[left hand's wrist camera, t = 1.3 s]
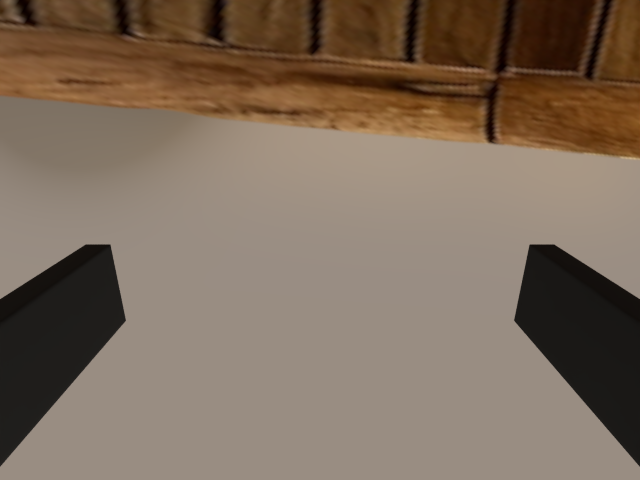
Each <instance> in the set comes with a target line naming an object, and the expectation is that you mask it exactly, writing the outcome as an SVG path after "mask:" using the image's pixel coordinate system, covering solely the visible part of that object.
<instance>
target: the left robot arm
mask: <svg viewBox="0 0 640 480" xmlns="http://www.w3.org/2000/svg"><path fill="white" fill-rule="evenodd" d="M125 321H126V319H125V314H124V309H123V304H122V299H121V294H120V290H119V285H118V280H117V275H116V270H115V265H114V260H113V255H112V250H111V245H84V246H83V247H81V248H80V249H78V250H77V251H75V252H73V253H72V254H70V255H69V256H67V257H66V258H64V259H62V260H61V261H59V262H58V263H56V264H55V265H53V266H51V267H50V268H48V269H47V270H45V271H44V272H42V273H41V274H39V275H37V276H36V277H34V278H33V279H31V280H30V281H28V282H26V283H25V284H23V285H22V286H20V287H19V288H17V289H16V290H14V291H12V292H11V293H9V294H8V295H6V296H4V297H3V298H1V299H0V466H1V465H2V464H3V463H4V462H5V460H6V459H7V458H8V457H9V456H10V455H11V453H12V452H13V451H14V450H15V449H16V448H17V446H18V445H19V444H20V443H21V442H22V441H23V439H24V438H25V437H26V436H27V435H28V434H29V433H30V431H31V430H32V429H33V428H34V427H35V426H36V424H37V423H38V422H39V421H40V420H41V418H42V417H43V416H44V415H45V414H46V413H47V412H48V410H49V409H50V408H51V407H52V406H53V405H54V403H55V402H56V401H57V400H58V399H59V398H60V396H61V395H62V394H63V393H64V392H65V391H66V390H67V388H68V387H69V386H70V385H71V384H72V383H73V381H74V380H75V379H76V378H77V377H78V376H79V374H80V373H81V372H82V371H83V370H84V369H85V367H86V366H87V365H88V364H89V363H90V362H91V360H92V359H93V358H94V357H95V356H96V355H97V353H98V352H99V351H100V350H101V349H102V348H103V347H104V345H105V344H106V343H107V342H108V341H109V340H110V338H111V337H112V336H113V335H114V334H115V333H116V331H117V330H118V329H119V328H120V327H121V326H122V324H123V323H124V322H125ZM514 321H515V322H516V323H517V324H518V326H519V327H520V328H521V329H522V330H523V331H524V333H525V334H526V335H527V336H528V337H529V338H530V340H531V341H532V342H533V343H534V344H535V345H536V347H537V348H538V349H539V350H540V351H541V352H542V353H543V355H544V356H545V357H546V358H547V359H548V360H549V362H550V363H551V364H552V365H553V366H554V367H555V369H556V370H557V371H558V372H559V373H560V374H561V376H562V377H563V378H564V379H565V380H566V381H567V383H568V384H569V385H570V386H571V387H572V388H573V390H574V391H575V392H576V393H577V394H578V395H579V396H580V398H581V399H582V400H583V401H584V402H585V403H586V405H587V406H588V407H589V408H590V409H591V410H592V412H593V413H594V414H595V415H596V416H597V417H598V419H599V420H600V421H601V422H602V423H603V424H604V426H605V427H606V428H607V429H608V430H609V431H610V433H611V434H612V435H613V436H614V437H615V438H616V439H617V441H618V442H619V443H620V444H621V445H622V446H623V448H624V449H625V450H626V451H627V452H628V453H629V455H630V456H631V457H632V458H633V459H634V460H635V462H636V463H637V464H638V465H639V466H640V299H639V298H637V297H635V296H634V295H632V294H631V293H629V292H628V291H626V290H625V289H623V288H621V287H620V286H618V285H617V284H615V283H614V282H612V281H610V280H609V279H607V278H606V277H604V276H603V275H601V274H599V273H598V272H596V271H595V270H593V269H592V268H590V267H589V266H587V265H585V264H584V263H582V262H581V261H579V260H578V259H576V258H574V257H573V256H571V255H570V254H568V253H567V252H565V251H563V250H562V249H560V248H559V247H557V246H556V245H529V250H528V255H527V260H526V265H525V270H524V275H523V280H522V285H521V290H520V294H519V299H518V304H517V309H516V314H515V319H514Z"/></svg>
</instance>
